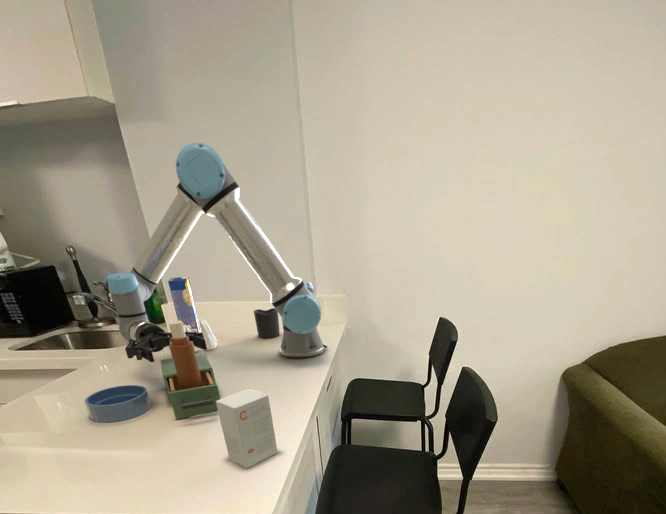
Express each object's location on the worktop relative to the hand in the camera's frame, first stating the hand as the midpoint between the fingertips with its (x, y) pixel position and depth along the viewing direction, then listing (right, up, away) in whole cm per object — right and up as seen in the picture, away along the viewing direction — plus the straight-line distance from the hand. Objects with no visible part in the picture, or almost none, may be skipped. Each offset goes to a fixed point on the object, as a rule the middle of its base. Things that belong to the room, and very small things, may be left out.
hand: (179, 350), depth 107 cm
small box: (+23, -27, -18) cm, 40 cm away
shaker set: (-14, +14, +54) cm, 57 cm away
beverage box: (-26, +27, +75) cm, 84 cm away
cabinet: (-3, -8, +16) cm, 18 cm away
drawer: (+3, -14, +3) cm, 15 cm away
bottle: (+2, -12, +4) cm, 13 cm away
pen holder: (+8, +24, +69) cm, 73 cm away
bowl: (-17, -15, +5) cm, 23 cm away
